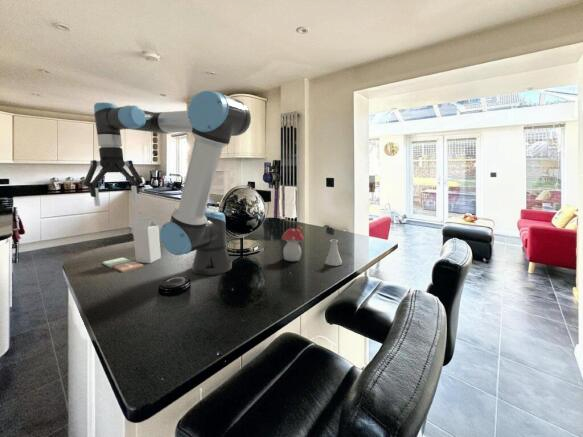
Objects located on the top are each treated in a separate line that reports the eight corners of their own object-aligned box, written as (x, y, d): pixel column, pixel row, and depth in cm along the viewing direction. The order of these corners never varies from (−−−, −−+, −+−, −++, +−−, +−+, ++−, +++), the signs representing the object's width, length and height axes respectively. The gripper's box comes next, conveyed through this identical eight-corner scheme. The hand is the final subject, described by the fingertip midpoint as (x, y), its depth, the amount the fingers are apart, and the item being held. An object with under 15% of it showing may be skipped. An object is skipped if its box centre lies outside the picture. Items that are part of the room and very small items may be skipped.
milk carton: (150, 263, 125) (146, 219, 122) (135, 262, 126) (131, 218, 123) (161, 258, 132) (157, 216, 128) (147, 257, 133) (143, 215, 130)
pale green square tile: (131, 262, 126) (131, 260, 126) (110, 267, 120) (110, 265, 120) (122, 259, 131) (122, 256, 131) (102, 263, 125) (102, 261, 125)
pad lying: (143, 266, 121) (143, 264, 121) (122, 272, 115) (122, 269, 114) (134, 262, 126) (134, 260, 125) (113, 267, 119) (113, 265, 119)
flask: (345, 262, 125) (345, 239, 123) (337, 267, 119) (338, 243, 117) (329, 259, 129) (330, 237, 127) (321, 264, 123) (322, 241, 122)
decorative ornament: (305, 258, 131) (305, 225, 128) (299, 263, 125) (299, 228, 122) (285, 256, 134) (285, 223, 132) (279, 260, 128) (279, 226, 126)
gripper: (139, 149, 123) (144, 200, 126) (67, 146, 103) (75, 206, 107) (148, 148, 118) (153, 201, 121) (74, 144, 99) (83, 208, 102)
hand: (117, 203), depth 114 cm, fingers open, 13 cm apart
